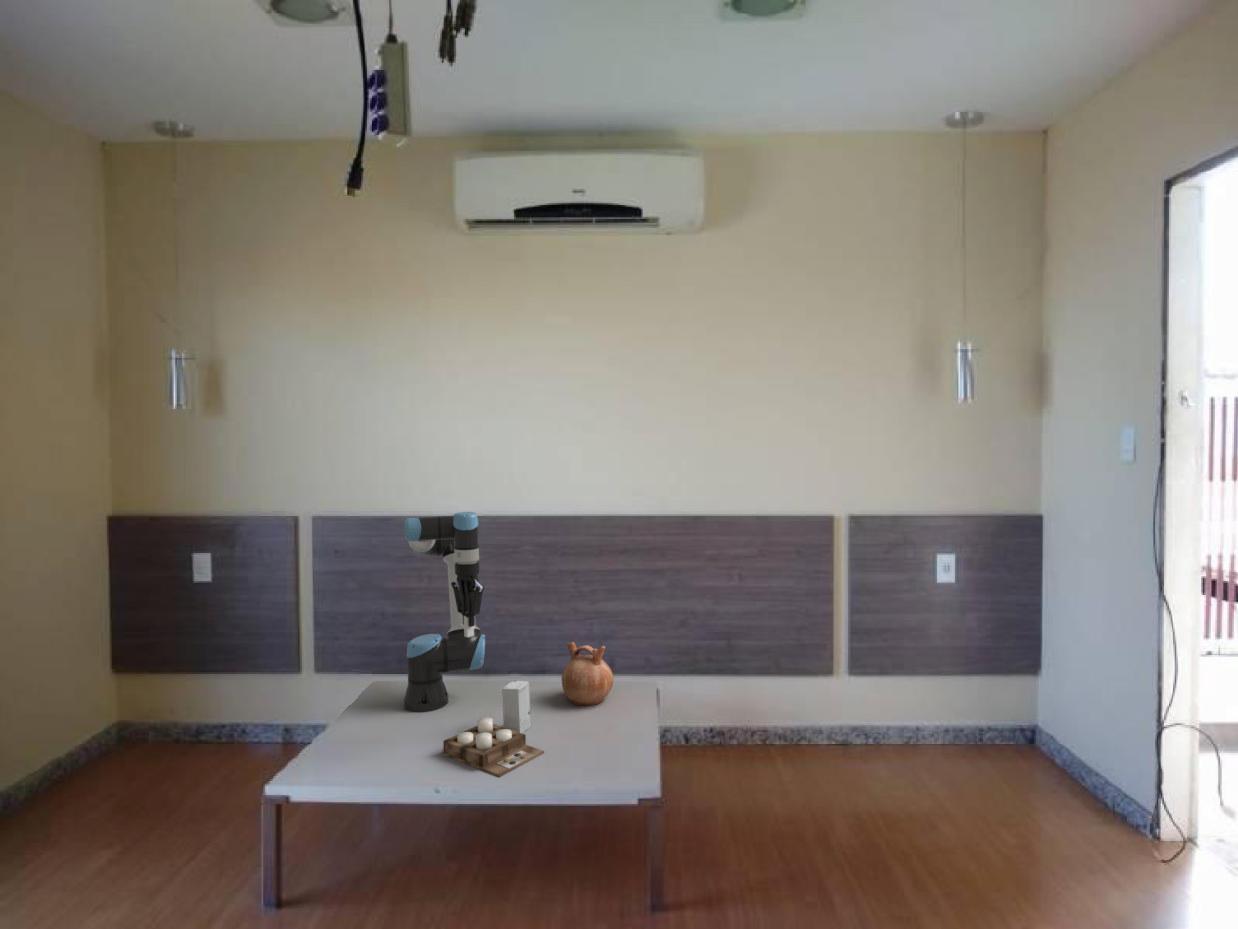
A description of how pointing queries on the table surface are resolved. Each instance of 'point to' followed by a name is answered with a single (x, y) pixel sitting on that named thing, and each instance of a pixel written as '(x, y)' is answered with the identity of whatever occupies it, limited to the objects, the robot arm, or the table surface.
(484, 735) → the button
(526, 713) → the skincare box
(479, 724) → the button
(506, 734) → the button
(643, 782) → the table surface
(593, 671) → the jug
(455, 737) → the board
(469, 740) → the button
